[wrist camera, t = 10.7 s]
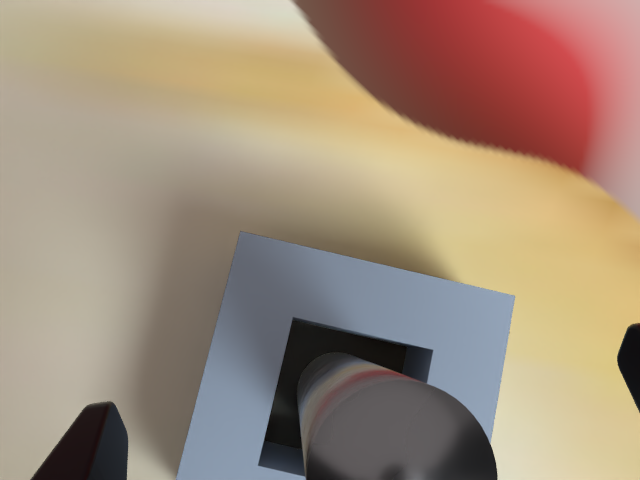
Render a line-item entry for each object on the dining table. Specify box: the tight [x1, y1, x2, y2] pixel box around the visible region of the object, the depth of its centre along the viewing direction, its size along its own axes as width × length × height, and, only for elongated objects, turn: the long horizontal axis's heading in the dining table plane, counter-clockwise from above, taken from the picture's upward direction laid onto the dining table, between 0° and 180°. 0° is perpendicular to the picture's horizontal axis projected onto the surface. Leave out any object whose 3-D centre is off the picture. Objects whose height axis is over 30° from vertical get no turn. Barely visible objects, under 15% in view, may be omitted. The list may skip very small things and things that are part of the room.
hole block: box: [176, 231, 515, 480], centre depth 19 cm, size 9×9×4 cm
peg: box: [297, 352, 497, 480], centre depth 15 cm, size 3×3×12 cm
